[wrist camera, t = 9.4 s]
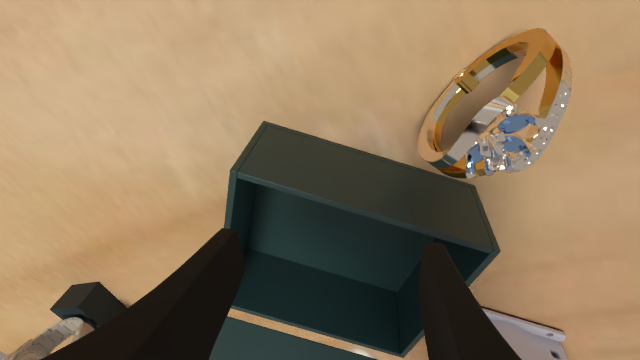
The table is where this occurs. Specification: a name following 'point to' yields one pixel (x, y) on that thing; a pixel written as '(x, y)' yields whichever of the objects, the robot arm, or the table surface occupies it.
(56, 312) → the watch
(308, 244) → the carton
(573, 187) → the table surface
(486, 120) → the ring
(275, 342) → the flap
